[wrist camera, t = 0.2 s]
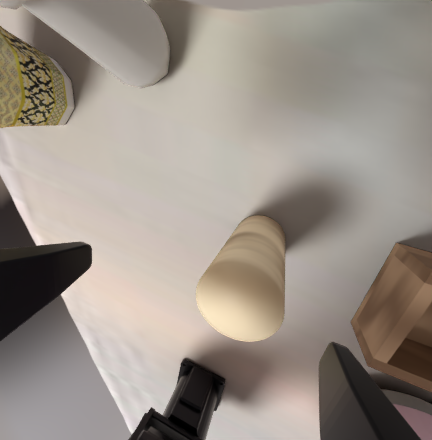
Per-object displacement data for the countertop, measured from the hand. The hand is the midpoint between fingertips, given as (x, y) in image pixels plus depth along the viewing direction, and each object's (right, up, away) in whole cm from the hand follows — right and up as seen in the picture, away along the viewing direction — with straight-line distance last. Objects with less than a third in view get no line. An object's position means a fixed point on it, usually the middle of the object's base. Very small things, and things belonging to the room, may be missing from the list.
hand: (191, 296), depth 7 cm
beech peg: (+5, +1, +13) cm, 14 cm away
